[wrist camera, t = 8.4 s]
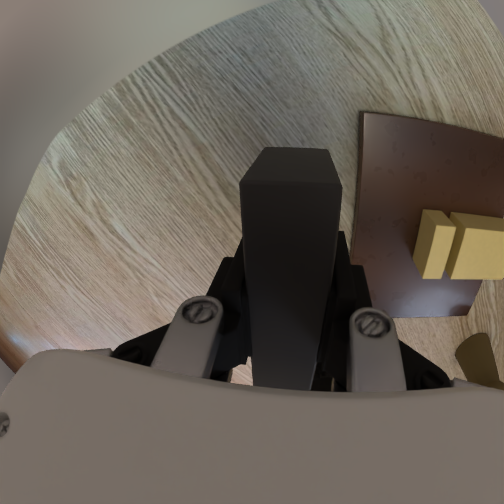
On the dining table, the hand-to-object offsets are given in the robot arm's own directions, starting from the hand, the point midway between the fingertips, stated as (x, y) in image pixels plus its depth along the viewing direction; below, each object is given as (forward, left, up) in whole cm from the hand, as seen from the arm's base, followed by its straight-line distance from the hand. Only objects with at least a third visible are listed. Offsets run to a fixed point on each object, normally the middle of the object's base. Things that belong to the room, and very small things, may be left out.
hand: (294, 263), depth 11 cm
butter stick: (+5, +17, -12) cm, 22 cm away
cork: (+23, +27, -14) cm, 38 cm away
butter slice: (+5, +12, -12) cm, 18 cm away
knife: (+5, 0, 0) cm, 5 cm away
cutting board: (+5, +13, -14) cm, 19 cm away
